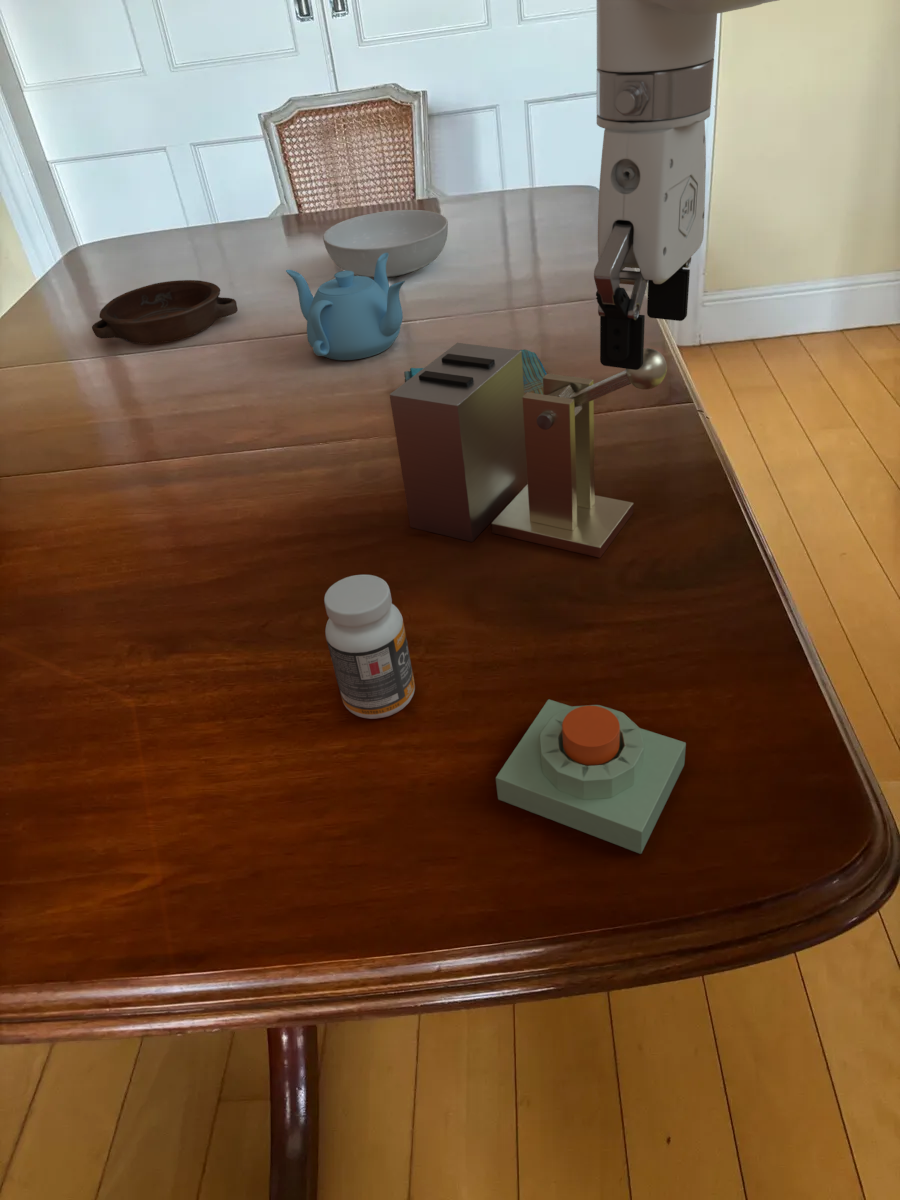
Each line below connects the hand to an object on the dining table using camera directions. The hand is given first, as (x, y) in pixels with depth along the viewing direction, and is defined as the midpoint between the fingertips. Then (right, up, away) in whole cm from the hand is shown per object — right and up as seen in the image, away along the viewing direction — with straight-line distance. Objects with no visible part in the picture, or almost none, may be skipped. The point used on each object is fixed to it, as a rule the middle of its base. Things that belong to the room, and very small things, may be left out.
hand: (645, 341), depth 70 cm
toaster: (-13, -11, +19) cm, 26 cm away
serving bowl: (-25, +36, +82) cm, 93 cm away
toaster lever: (-2, -4, +5) cm, 6 cm away
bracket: (-5, -13, +15) cm, 20 cm away
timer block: (-6, -32, -10) cm, 35 cm away
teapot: (-28, +16, +57) cm, 65 cm away
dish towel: (-11, +1, +35) cm, 36 cm away
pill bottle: (-21, -28, -1) cm, 35 cm away
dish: (-59, +22, +70) cm, 94 cm away
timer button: (-6, -30, -13) cm, 33 cm away
